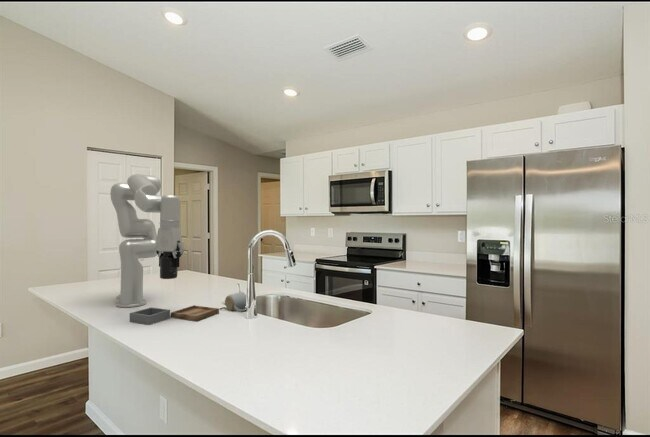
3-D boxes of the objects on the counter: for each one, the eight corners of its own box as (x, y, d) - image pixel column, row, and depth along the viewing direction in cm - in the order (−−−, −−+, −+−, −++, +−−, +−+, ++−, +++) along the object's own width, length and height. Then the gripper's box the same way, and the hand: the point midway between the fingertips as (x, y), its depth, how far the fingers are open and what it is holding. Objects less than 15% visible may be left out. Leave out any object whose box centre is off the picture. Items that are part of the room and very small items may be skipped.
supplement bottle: (156, 278, 148) (156, 249, 148) (169, 276, 154) (169, 248, 154) (168, 279, 145) (168, 250, 145) (181, 277, 151) (181, 249, 152)
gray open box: (129, 321, 144) (129, 313, 144) (150, 315, 154) (150, 307, 154) (149, 324, 140) (149, 316, 140) (169, 318, 150) (170, 309, 150)
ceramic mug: (223, 309, 166) (224, 293, 166) (238, 306, 172) (238, 290, 172) (236, 313, 159) (237, 296, 159) (251, 310, 165) (252, 294, 165)
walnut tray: (170, 317, 151) (170, 312, 151) (193, 310, 164) (193, 305, 164) (197, 321, 146) (197, 316, 146) (218, 313, 159) (218, 308, 159)
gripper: (147, 224, 150) (146, 266, 150) (178, 225, 143) (178, 269, 143) (161, 224, 157) (160, 264, 157) (192, 225, 150) (191, 267, 150)
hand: (169, 266), depth 150 cm, fingers closed on supplement bottle, 6 cm apart
